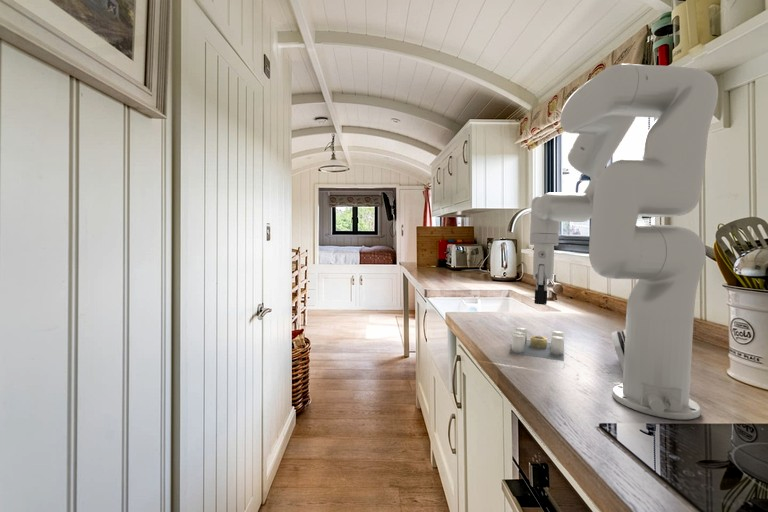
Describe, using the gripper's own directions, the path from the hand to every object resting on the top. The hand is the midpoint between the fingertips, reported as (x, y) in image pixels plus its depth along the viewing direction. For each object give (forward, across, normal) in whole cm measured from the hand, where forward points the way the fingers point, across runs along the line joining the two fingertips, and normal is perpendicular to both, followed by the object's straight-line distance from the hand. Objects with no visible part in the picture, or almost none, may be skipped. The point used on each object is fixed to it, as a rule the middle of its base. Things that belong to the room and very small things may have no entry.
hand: (540, 303), depth 107 cm
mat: (+11, -10, 0) cm, 15 cm away
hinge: (+11, -16, -20) cm, 28 cm away
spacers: (+11, -10, 0) cm, 15 cm away
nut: (+10, -8, 0) cm, 13 cm away
